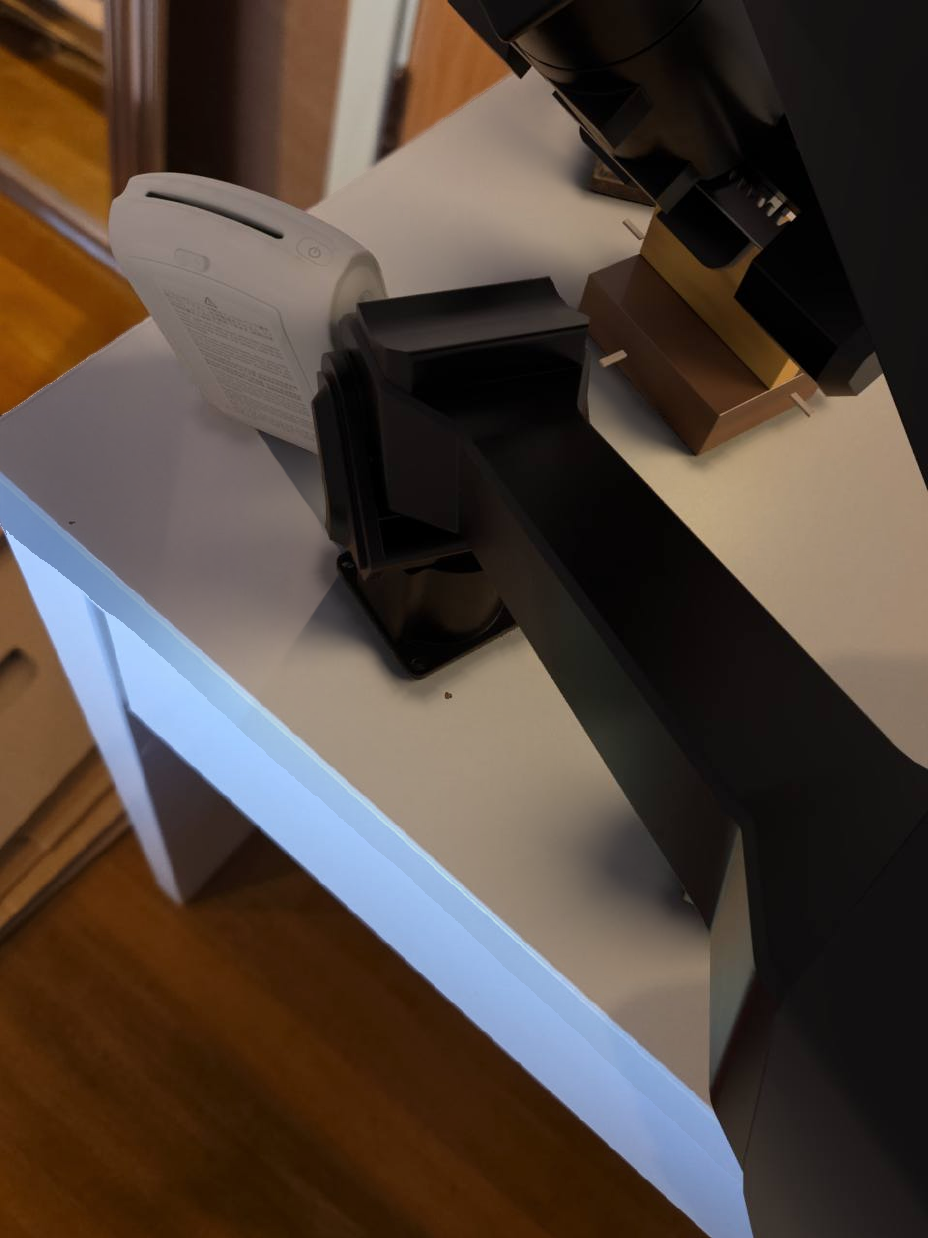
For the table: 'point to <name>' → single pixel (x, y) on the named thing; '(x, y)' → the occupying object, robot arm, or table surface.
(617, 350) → the block
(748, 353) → the wooden rectangular block
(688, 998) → the table surface
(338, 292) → the photo printer
